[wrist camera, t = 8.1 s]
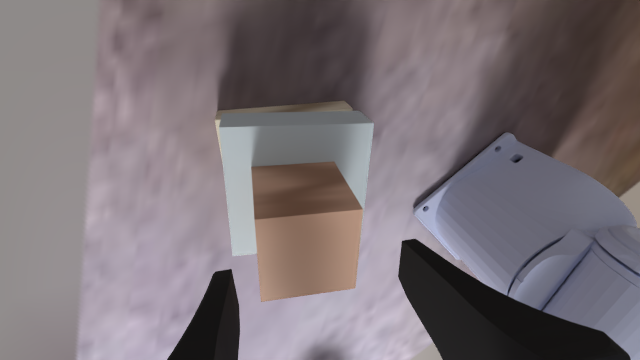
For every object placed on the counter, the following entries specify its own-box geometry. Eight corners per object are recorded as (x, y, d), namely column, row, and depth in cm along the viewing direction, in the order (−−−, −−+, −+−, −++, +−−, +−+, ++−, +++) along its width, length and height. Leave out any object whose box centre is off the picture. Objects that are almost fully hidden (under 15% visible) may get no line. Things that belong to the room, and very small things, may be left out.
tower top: (359, 110, 20) (374, 123, 18) (349, 221, 23) (360, 243, 21) (221, 113, 18) (218, 127, 16) (233, 231, 22) (232, 256, 20)
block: (334, 161, 18) (363, 209, 14) (330, 228, 20) (355, 288, 16) (251, 166, 17) (254, 219, 13) (256, 236, 19) (261, 301, 15)
